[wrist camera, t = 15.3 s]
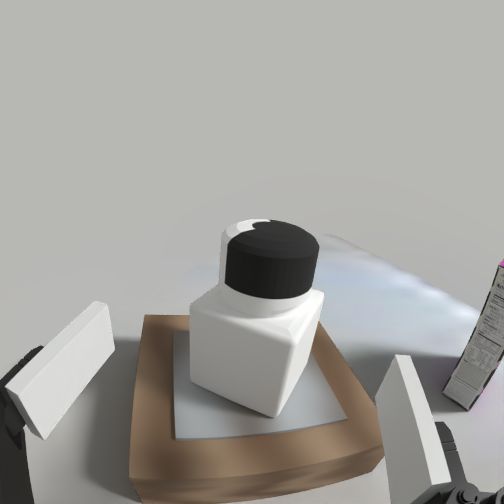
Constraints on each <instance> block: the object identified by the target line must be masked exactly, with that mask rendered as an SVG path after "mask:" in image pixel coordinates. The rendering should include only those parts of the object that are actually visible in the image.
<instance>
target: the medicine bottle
mask: <svg viewBox="0 0 504 504" xmlns="http://www.w3.org/2000/svg"><path fill="white" fill-rule="evenodd" d="M318 252H319V244H318V243H317V241H316V239H315V238H314V237H313V236H312V235H311V234H310V233H308V232H306V231H305V230H303V229H302V228H300V227H298V226H295V225H292V224H289V223H286V222H281V221H275V220H266V219H252V220H245V221H241V222H238V223H235V224H232V225H231V226H229V227H228V228H227V229H226V230H225V231H224V232H223V233H222V239H221V252H220V266H219V281H218V285H217V286H215V287H214V288H212V289H211V290H210V291H208V292H207V293H205V294H204V295H203V296H201V297H200V298H198V299H197V300H195V301H194V302H193V303H191V305H190V379H191V381H192V382H193V383H195V384H197V385H199V386H201V387H203V388H205V389H207V390H209V391H211V392H213V393H216V394H218V395H220V396H222V397H224V398H227V399H229V400H231V401H233V402H236V403H238V404H240V405H243V406H245V407H247V408H250V409H252V410H255V411H257V412H260V413H262V414H265V415H267V416H270V417H273V418H275V417H277V416H278V415H279V414H280V412H281V410H282V408H283V407H284V405H285V403H286V401H287V400H288V398H289V396H290V394H291V392H292V390H293V389H294V387H295V385H296V383H297V381H298V379H299V377H300V376H301V374H302V372H303V370H304V368H305V366H306V364H307V361H308V358H309V354H310V351H311V347H312V343H313V340H314V336H315V332H316V328H317V324H318V320H319V316H320V312H321V308H322V304H323V300H324V294H323V292H321V291H318V290H314V289H311V287H312V282H313V278H314V273H315V268H316V263H317V258H318Z"/></svg>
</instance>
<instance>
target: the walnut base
mask: <svg viewBox="0 0 504 504" xmlns="http://www.w3.org/2000/svg"><path fill="white" fill-rule="evenodd" d="M384 456H385V453H384V447H383V441H382V435H381V429H380V423H379V418H378V412H377V408H376V407H375V405H374V404H373V402H372V400H371V399H370V397H369V396H368V394H367V393H366V391H365V390H364V388H363V387H362V385H361V384H360V382H359V381H358V379H357V378H356V376H355V375H354V373H353V372H352V370H351V369H350V367H349V365H348V364H347V362H346V361H345V359H344V358H343V356H342V355H341V353H340V352H339V350H338V349H337V347H336V346H335V344H334V343H333V341H332V340H331V338H330V337H329V335H328V334H327V332H326V331H325V329H324V328H323V327H322V325H321V324H320V322H319V321H318V324H317V328H316V332H315V336H314V340H313V343H312V347H311V351H310V354H309V358H308V361H307V364H306V366H305V368H304V370H303V372H302V374H301V376H300V377H299V379H298V381H297V383H296V385H295V387H294V389H293V390H292V392H291V394H290V396H289V398H288V400H287V401H286V403H285V405H284V407H283V408H282V410H281V412H280V414H279V415H278V416H277V417H275V418H273V417H270V416H267V415H265V414H262V413H260V412H257V411H255V410H252V409H250V408H247V407H245V406H243V405H240V404H238V403H236V402H233V401H231V400H229V399H227V398H224V397H222V396H220V395H218V394H216V393H213V392H211V391H209V390H207V389H205V388H203V387H201V386H199V385H197V384H195V383H193V382H192V381H191V379H190V315H145V316H144V322H143V329H142V335H141V342H140V349H139V357H138V364H137V372H136V381H135V390H134V400H133V411H132V423H131V438H130V457H129V479H130V481H131V483H132V485H133V486H134V488H135V490H136V492H137V494H138V496H139V498H140V500H141V501H142V503H143V504H218V503H230V502H240V501H249V500H256V499H263V498H270V497H276V496H281V495H287V494H292V493H297V492H301V491H306V490H310V489H314V488H318V487H322V486H326V485H330V484H334V483H337V482H341V481H344V480H347V479H351V478H354V477H357V476H360V475H363V474H366V473H369V472H372V470H373V469H374V468H375V467H376V466H377V464H378V463H379V462H380V461H381V459H382V458H383V457H384Z"/></svg>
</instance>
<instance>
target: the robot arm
mask: <svg viewBox="0 0 504 504" xmlns="http://www.w3.org/2000/svg"><path fill="white" fill-rule="evenodd" d="M114 350H115V346H114V340H113V335H112V329H111V322H110V316H109V309H108V304H105V303H101V302H98V301H94V302H93V303H92V304H91V305H90V306H89V307H87V308H86V309H85V310H84V311H83V312H82V313H81V314H80V315H79V316H77V317H76V318H75V319H74V320H73V321H72V322H71V323H70V324H69V325H68V326H67V327H65V328H64V329H63V330H62V331H61V332H60V333H59V334H58V335H57V336H56V337H55V338H54V339H52V340H51V341H50V342H49V343H48V344H47V345H46V346H45V347H43V346H39V347H37V348H35V349H33V350H31V351H30V352H29V353H28V354H27V355H26V356H24V359H21V360H20V361H19V362H18V364H16V365H15V366H14V367H13V368H12V369H11V370H10V371H9V372H8V373H7V374H6V375H5V376H4V377H3V378H2V379H1V380H0V504H34V499H33V494H32V488H31V483H30V476H29V469H28V462H27V453H26V442H25V433H24V429H23V427H24V426H25V424H26V425H27V426H28V428H29V429H30V431H31V432H32V433H33V434H35V435H36V436H38V437H39V438H41V439H43V440H44V441H45V439H46V438H47V436H48V435H49V434H50V432H51V431H52V430H53V428H54V427H55V426H56V424H57V423H58V422H59V420H60V419H61V418H62V416H63V415H64V414H65V412H66V411H67V410H68V409H69V407H70V406H71V405H72V403H73V402H74V401H75V399H76V398H77V397H78V396H79V394H80V393H81V392H82V390H83V389H84V388H85V387H86V385H87V384H88V383H89V381H90V380H91V379H92V378H93V376H94V375H95V374H96V373H97V371H98V370H99V369H100V368H101V366H102V365H103V364H104V363H105V361H106V360H107V359H108V358H109V356H110V355H111V354H112V353H113V352H114ZM375 402H376V407H377V412H378V418H379V423H380V429H381V435H382V441H383V447H384V453H385V460H386V467H387V475H388V482H389V491H390V500H391V504H504V487H503V488H501V489H500V490H499V491H498V492H496V493H488V492H479V490H478V488H477V487H476V486H475V485H473V484H471V483H468V482H467V480H466V478H465V474H464V471H463V467H462V464H461V461H460V458H459V454H458V451H456V449H457V448H456V445H455V443H454V439H453V436H452V433H451V430H450V429H449V428H448V427H447V425H446V424H445V423H444V422H434V420H433V417H432V414H431V411H430V408H429V405H428V402H427V399H426V396H425V394H424V391H423V388H422V385H421V383H420V380H419V377H418V375H417V372H416V370H415V367H414V364H413V362H412V359H411V357H410V355H395V356H394V358H393V360H392V362H391V365H390V367H389V369H388V371H387V373H386V375H385V377H384V379H383V382H382V384H381V386H380V388H379V390H378V392H377V394H376V395H375Z"/></svg>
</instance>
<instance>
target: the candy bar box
mask: <svg viewBox="0 0 504 504" xmlns="http://www.w3.org/2000/svg"><path fill="white" fill-rule="evenodd" d="M503 356H504V259H503V261H502V262H501V263H500V264H499V265H498V269H497V272H496V275H495V278H494V280H493V284H492V286H491V289H490V292H489V294H488V296H487V299H486V302H485V304H484V307H483V309H482V312H481V314H480V317H479V319H478V321H477V324H476V326H475V328H474V331H473V333H472V335H471V337H470V340H469V342H468V344H467V346H466V348H465V350H464V352H463V354H462V356H461V358H460V359H459V361H458V363H457V365H456V367H455V369H454V371H453V372H452V374H451V376H450V378H449V380H448V381H447V383H446V385H445V386H444V388H443V390H442V393H443V394H444V395H445V396H446V397H448V398H449V399H451V400H453V401H454V402H456V403H457V404H459V405H460V406H462V407H463V408H465V409H466V410H468V411H470V409H471V408H472V407H473V405H474V404H475V402H476V401H477V399H478V398H479V396H480V395H481V393H482V392H483V390H484V389H485V387H486V385H487V384H488V382H489V381H490V379H491V377H492V376H493V374H494V372H495V371H496V369H497V367H498V365H499V364H500V362H501V360H502V358H503Z"/></svg>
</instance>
